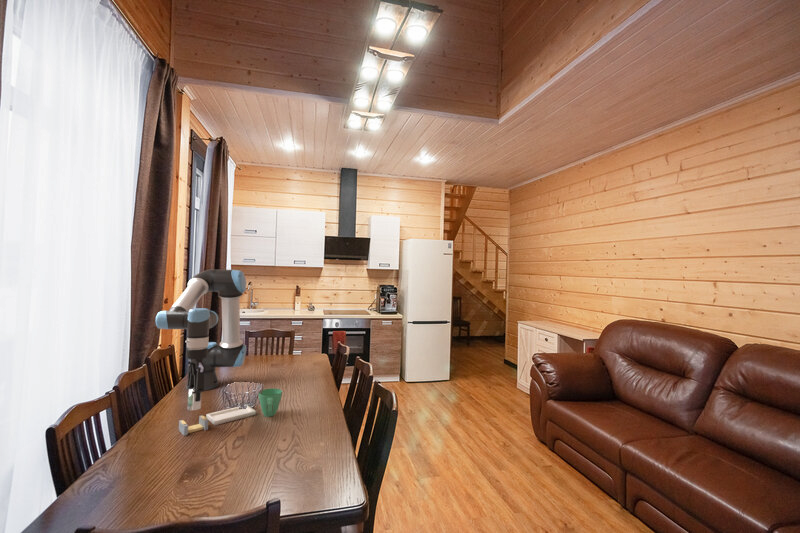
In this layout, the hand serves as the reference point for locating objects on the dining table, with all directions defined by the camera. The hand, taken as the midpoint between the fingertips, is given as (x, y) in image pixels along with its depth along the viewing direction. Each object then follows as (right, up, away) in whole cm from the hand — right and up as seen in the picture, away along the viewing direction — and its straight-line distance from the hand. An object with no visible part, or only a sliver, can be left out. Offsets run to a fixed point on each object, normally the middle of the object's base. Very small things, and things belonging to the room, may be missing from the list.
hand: (194, 407), depth 141 cm
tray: (+8, -9, +14) cm, 19 cm away
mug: (+24, -10, +15) cm, 30 cm away
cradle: (0, -9, 0) cm, 9 cm away
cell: (0, 0, 0) cm, 0 cm away
